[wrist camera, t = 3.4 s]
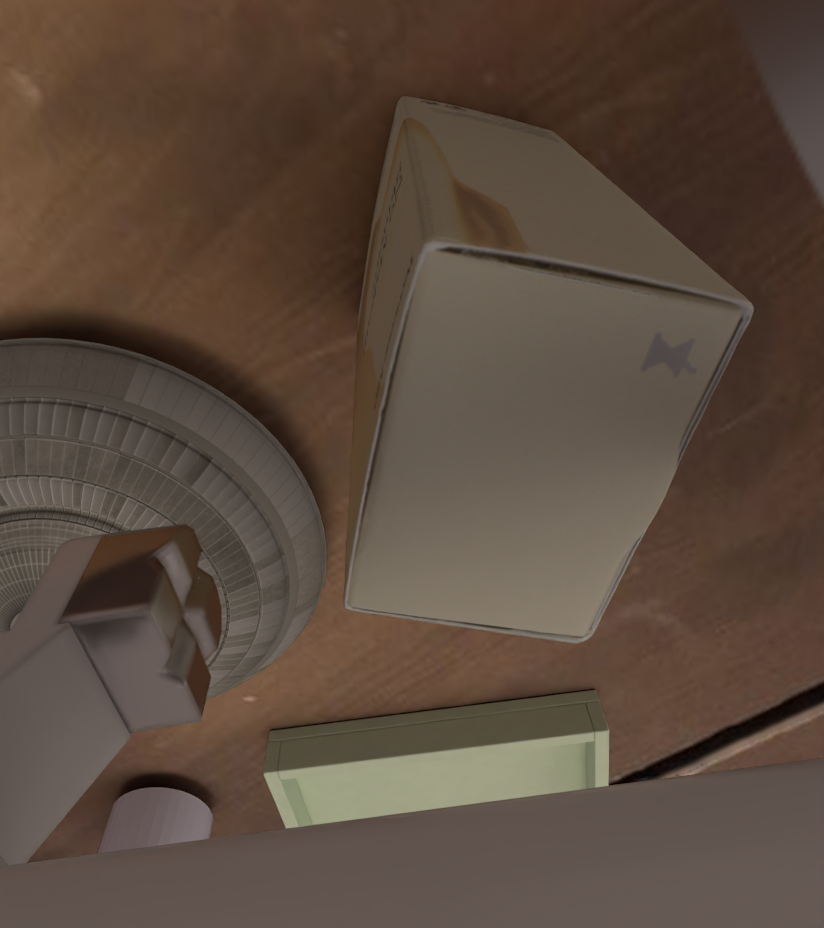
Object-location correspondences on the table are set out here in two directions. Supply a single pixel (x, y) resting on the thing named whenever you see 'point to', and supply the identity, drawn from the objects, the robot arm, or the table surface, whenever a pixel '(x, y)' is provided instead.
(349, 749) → the tray
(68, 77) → the table surface
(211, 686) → the flying saucer
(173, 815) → the perfume bottle
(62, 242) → the table surface
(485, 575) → the cosmetic box
